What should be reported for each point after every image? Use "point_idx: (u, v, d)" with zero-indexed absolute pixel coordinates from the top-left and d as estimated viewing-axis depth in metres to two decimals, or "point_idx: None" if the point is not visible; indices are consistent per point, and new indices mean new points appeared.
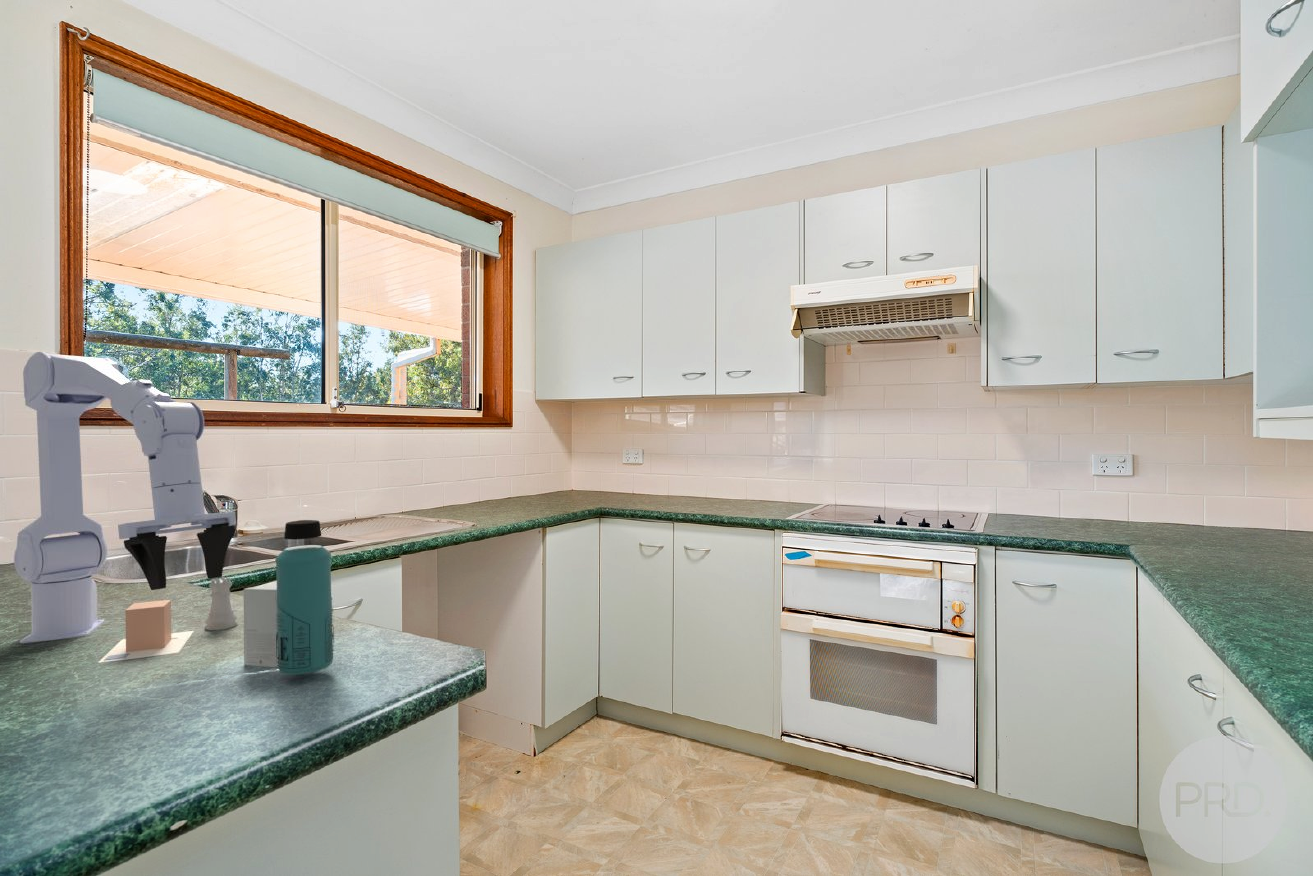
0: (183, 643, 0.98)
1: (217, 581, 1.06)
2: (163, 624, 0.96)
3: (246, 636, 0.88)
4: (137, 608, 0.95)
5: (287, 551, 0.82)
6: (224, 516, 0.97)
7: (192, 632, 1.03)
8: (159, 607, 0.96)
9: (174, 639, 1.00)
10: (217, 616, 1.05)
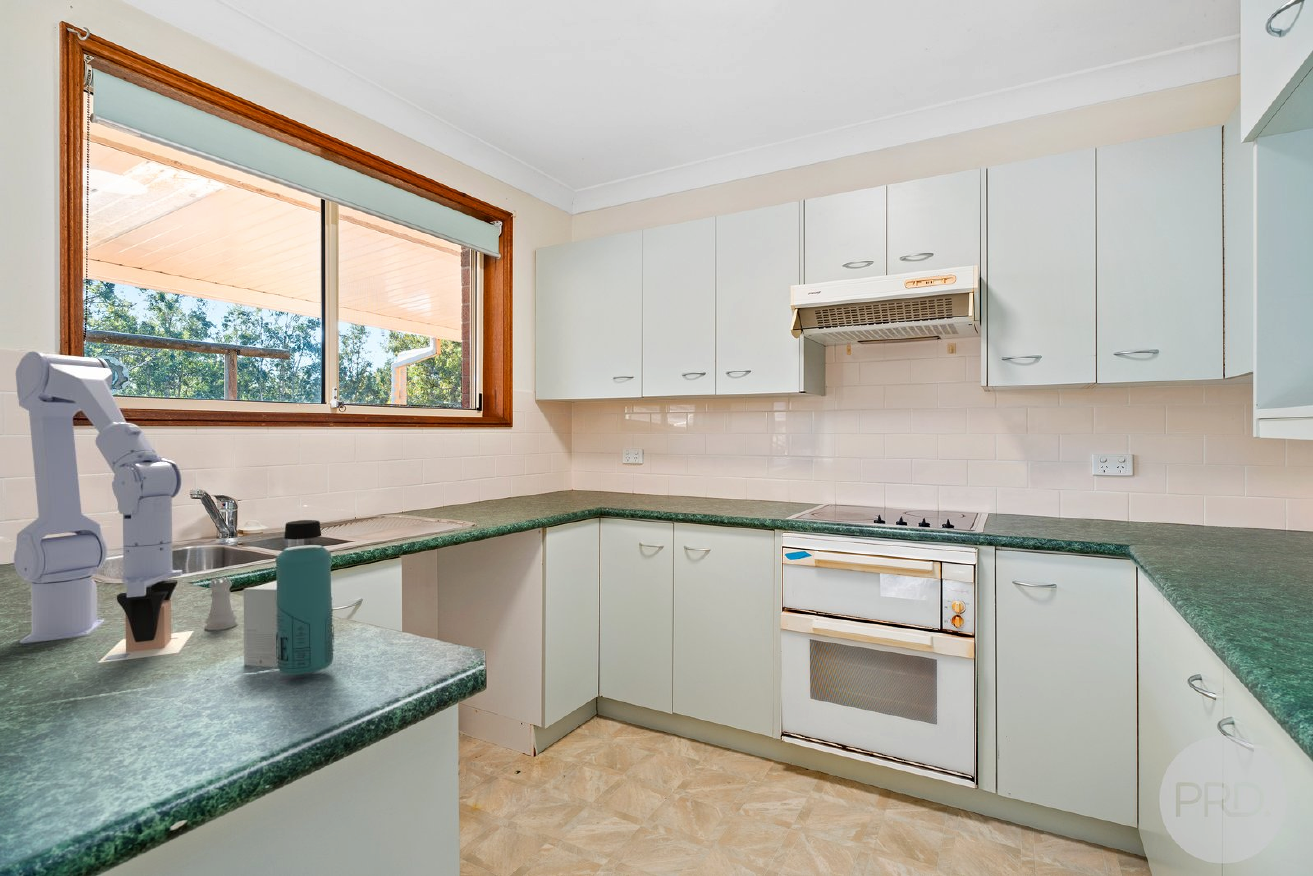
0: (183, 643, 0.98)
1: (217, 581, 1.06)
2: (163, 624, 0.96)
3: (246, 636, 0.88)
4: None
5: (287, 551, 0.82)
6: None
7: (192, 632, 1.03)
8: None
9: (174, 639, 1.00)
10: (217, 616, 1.05)
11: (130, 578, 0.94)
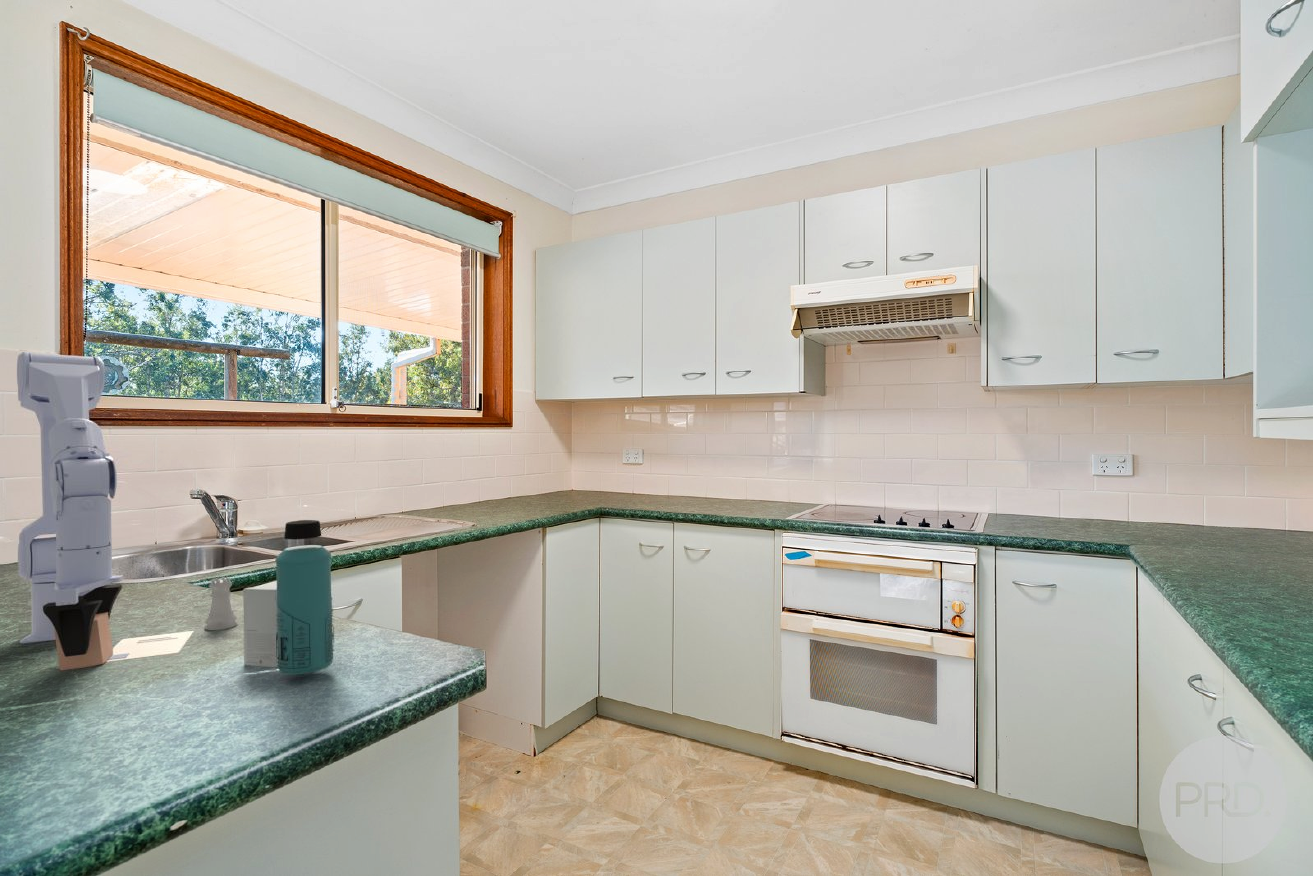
0: (183, 643, 0.98)
1: (217, 581, 1.06)
2: (98, 639, 0.89)
3: (246, 636, 0.88)
4: None
5: (287, 551, 0.82)
6: None
7: (192, 632, 1.03)
8: None
9: (174, 639, 1.00)
10: (217, 616, 1.05)
11: (63, 584, 0.87)
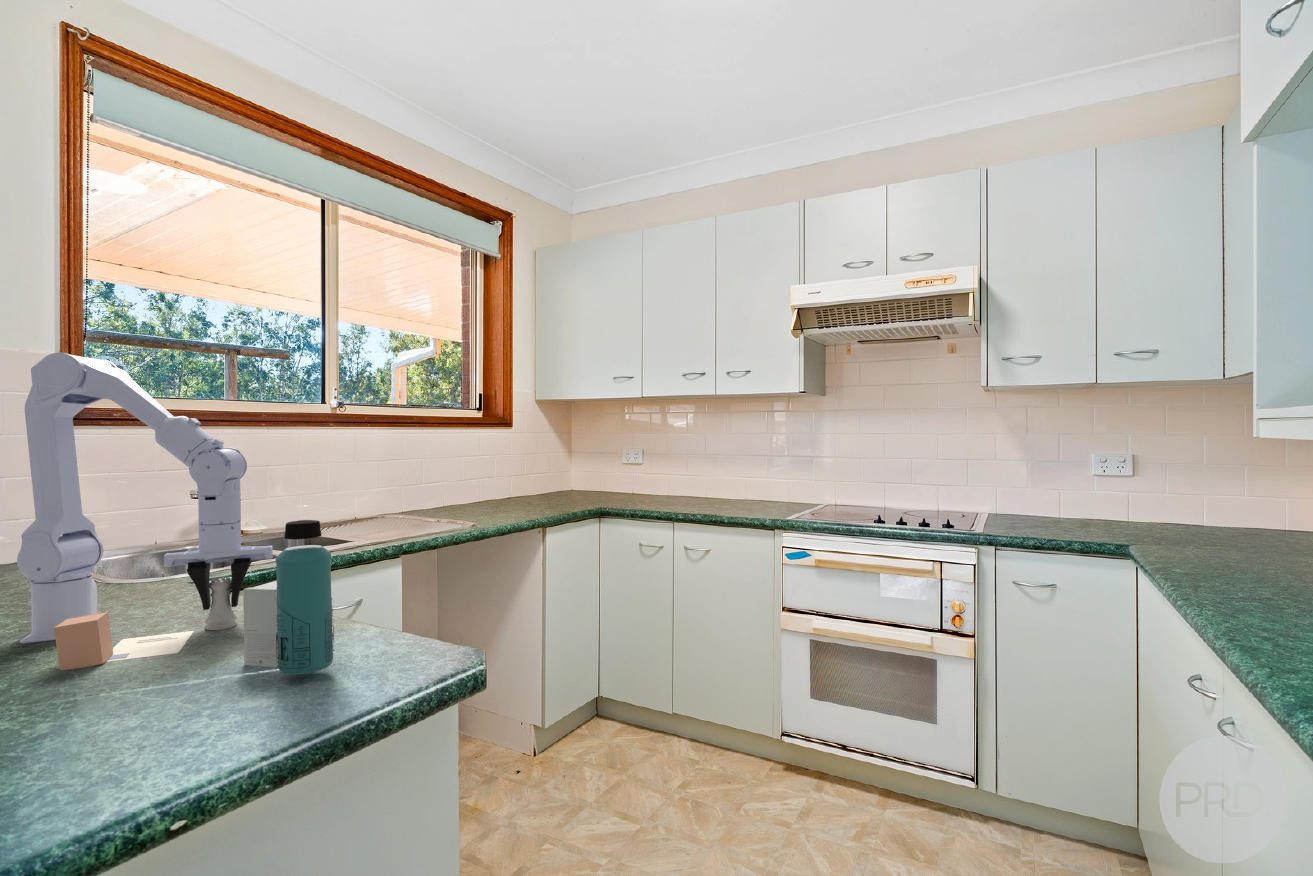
0: (183, 643, 0.98)
1: (217, 581, 1.06)
2: (98, 639, 0.89)
3: (246, 636, 0.88)
4: (67, 624, 0.88)
5: (287, 551, 0.82)
6: None
7: (192, 632, 1.03)
8: (92, 621, 0.88)
9: (174, 639, 1.00)
10: (217, 616, 1.05)
11: (237, 550, 1.07)
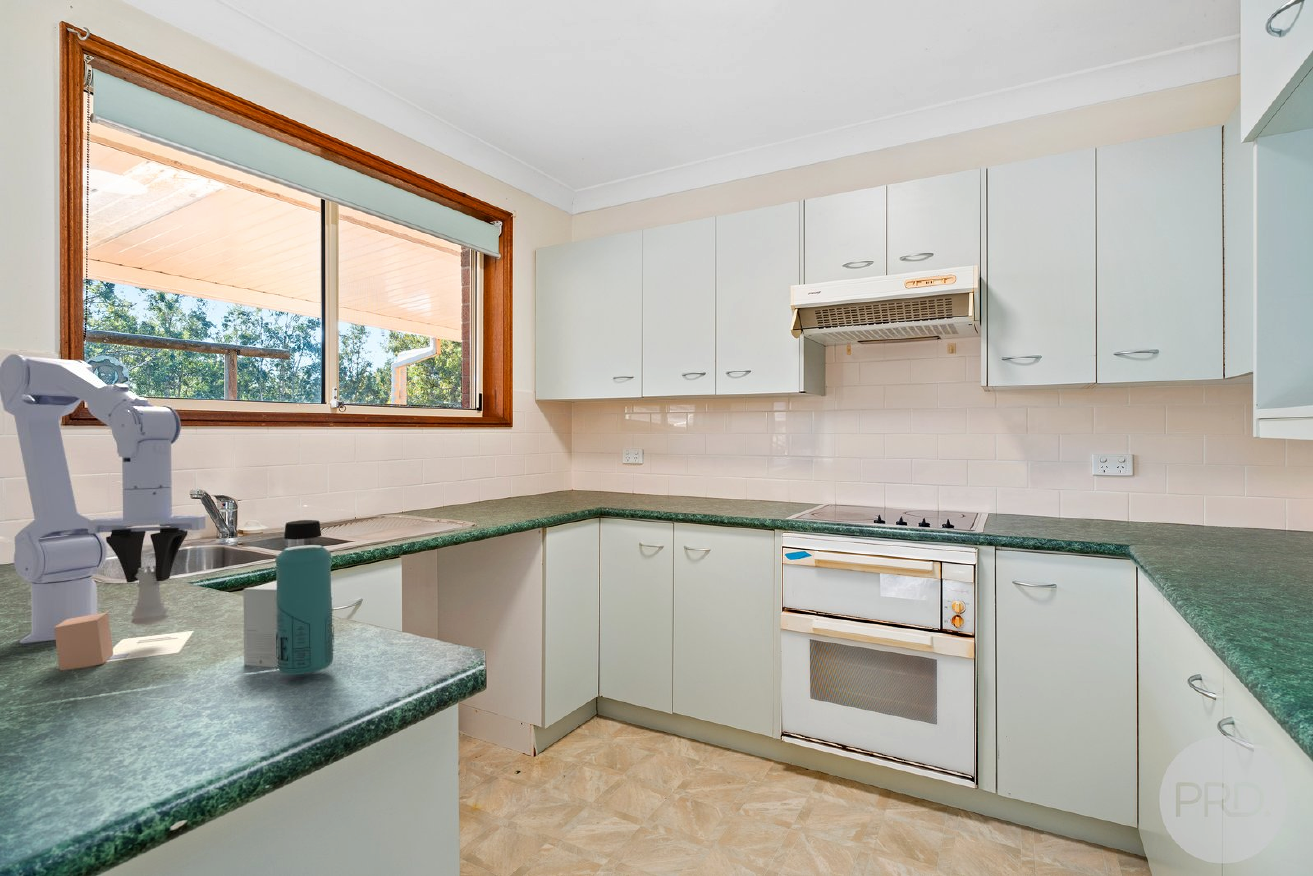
0: (183, 643, 0.98)
1: (141, 570, 0.96)
2: (98, 639, 0.89)
3: (246, 636, 0.88)
4: (67, 624, 0.88)
5: (287, 551, 0.82)
6: None
7: (192, 632, 1.03)
8: (92, 621, 0.88)
9: (174, 639, 1.00)
10: (140, 609, 0.96)
11: (161, 519, 0.96)
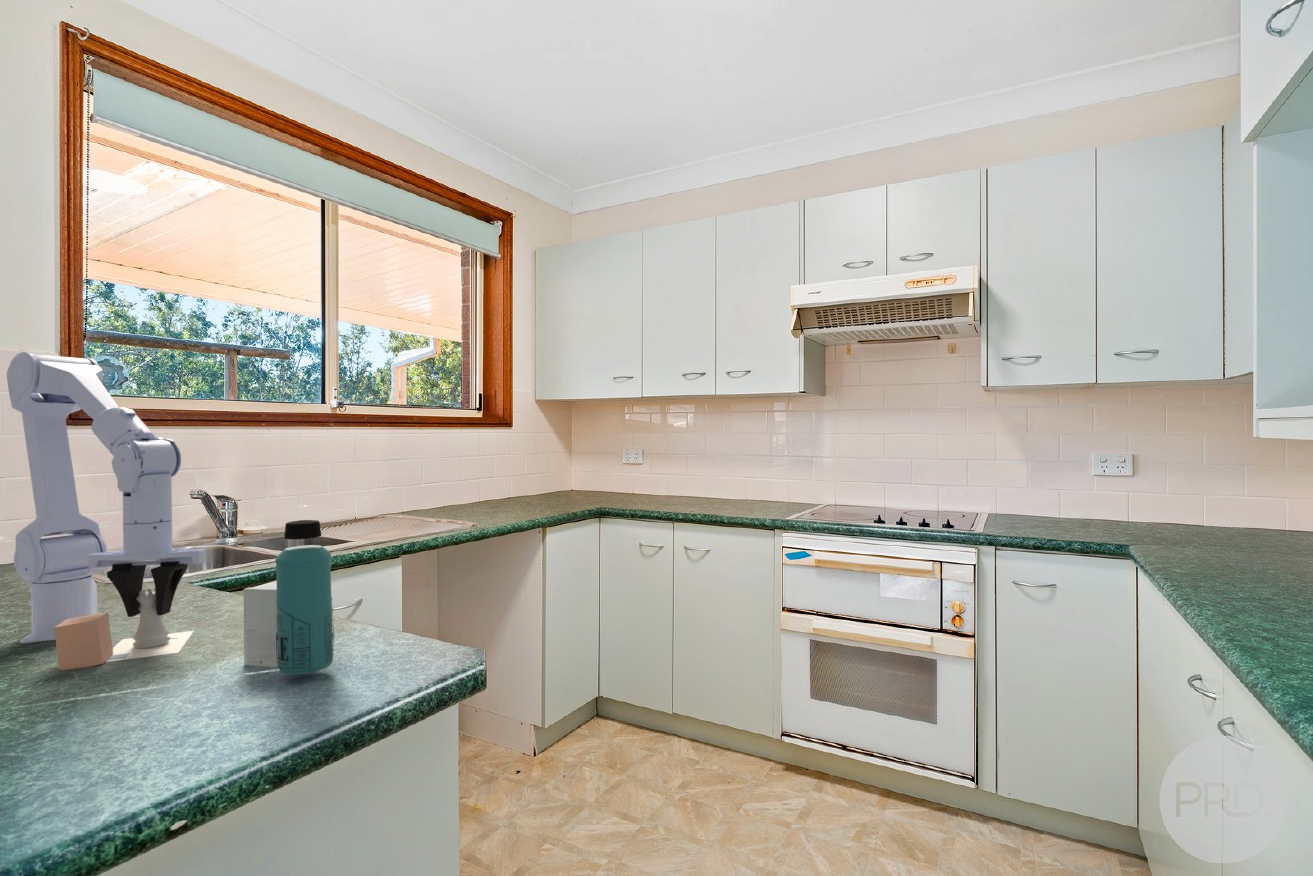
0: (183, 643, 0.98)
1: (142, 593, 0.96)
2: (98, 639, 0.89)
3: (246, 636, 0.88)
4: (67, 624, 0.88)
5: (287, 551, 0.82)
6: None
7: (192, 632, 1.03)
8: (92, 621, 0.88)
9: (174, 639, 1.00)
10: (141, 632, 0.96)
11: (161, 553, 0.96)
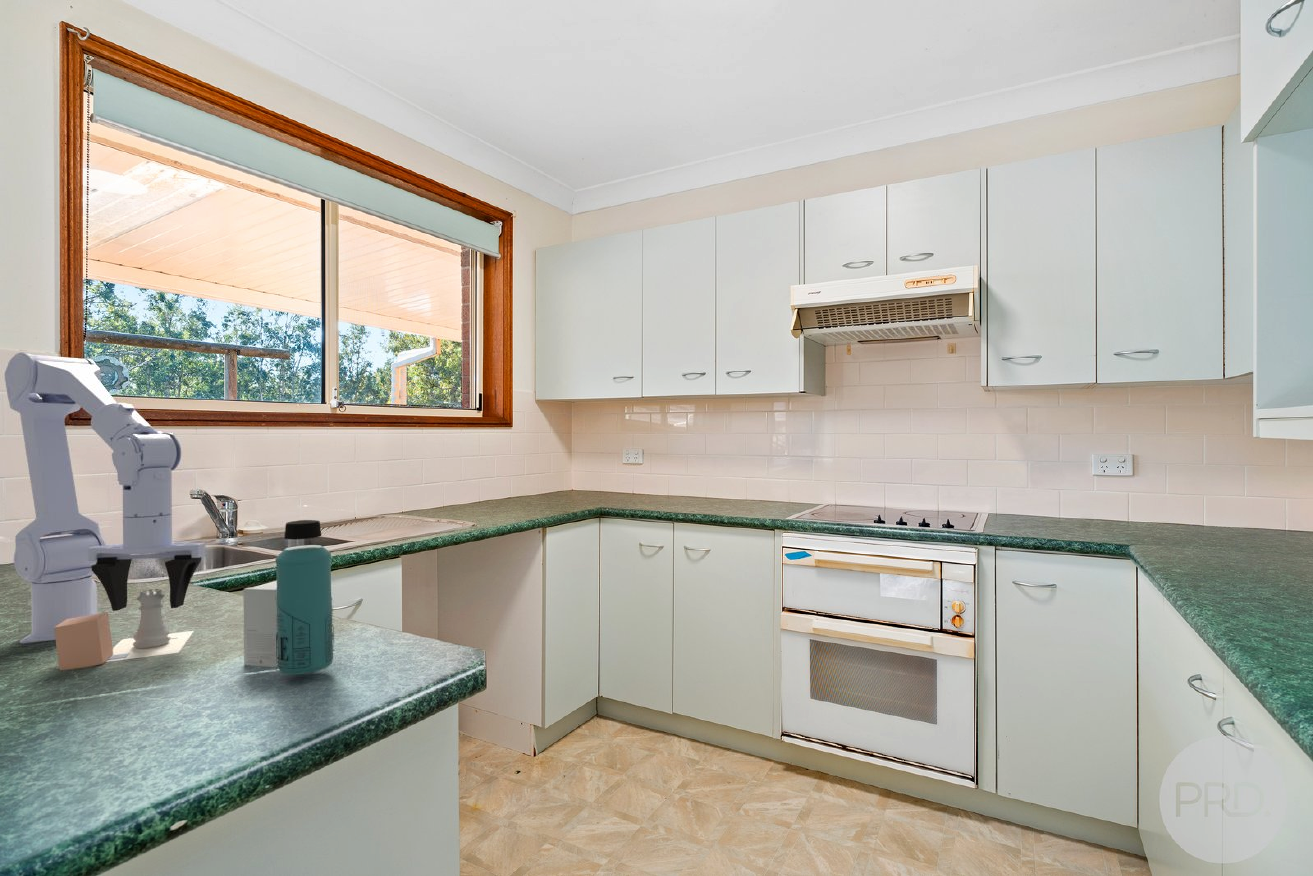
0: (183, 643, 0.98)
1: (143, 593, 0.96)
2: (98, 639, 0.89)
3: (246, 636, 0.88)
4: (67, 624, 0.88)
5: (287, 551, 0.82)
6: None
7: (192, 632, 1.03)
8: (91, 621, 0.88)
9: (174, 639, 1.00)
10: (142, 632, 0.96)
11: (161, 547, 0.96)
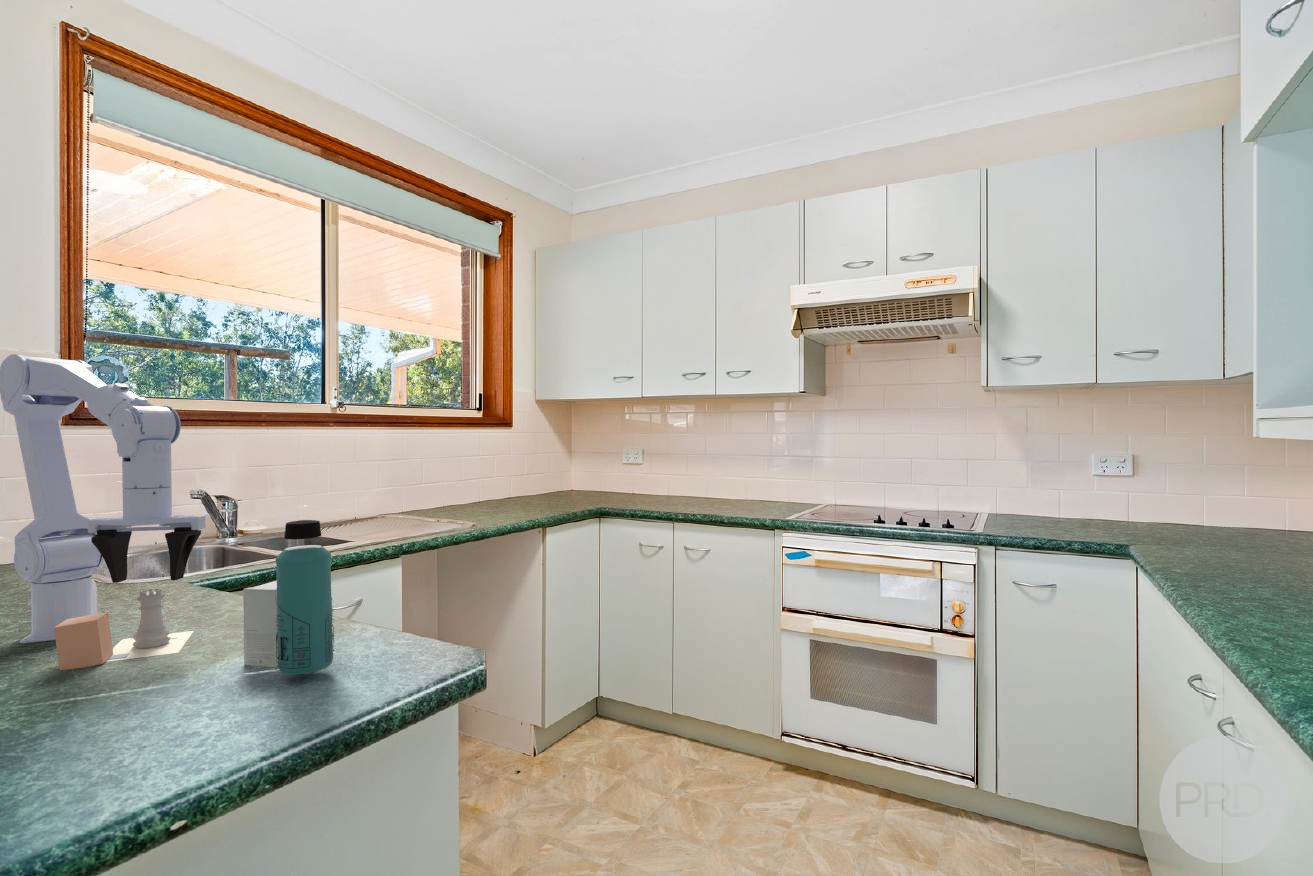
0: (183, 643, 0.98)
1: (143, 593, 0.96)
2: (98, 639, 0.89)
3: (246, 636, 0.88)
4: (67, 624, 0.88)
5: (287, 551, 0.82)
6: None
7: (192, 632, 1.03)
8: (91, 621, 0.88)
9: (174, 639, 1.00)
10: (142, 632, 0.96)
11: (160, 519, 0.96)
